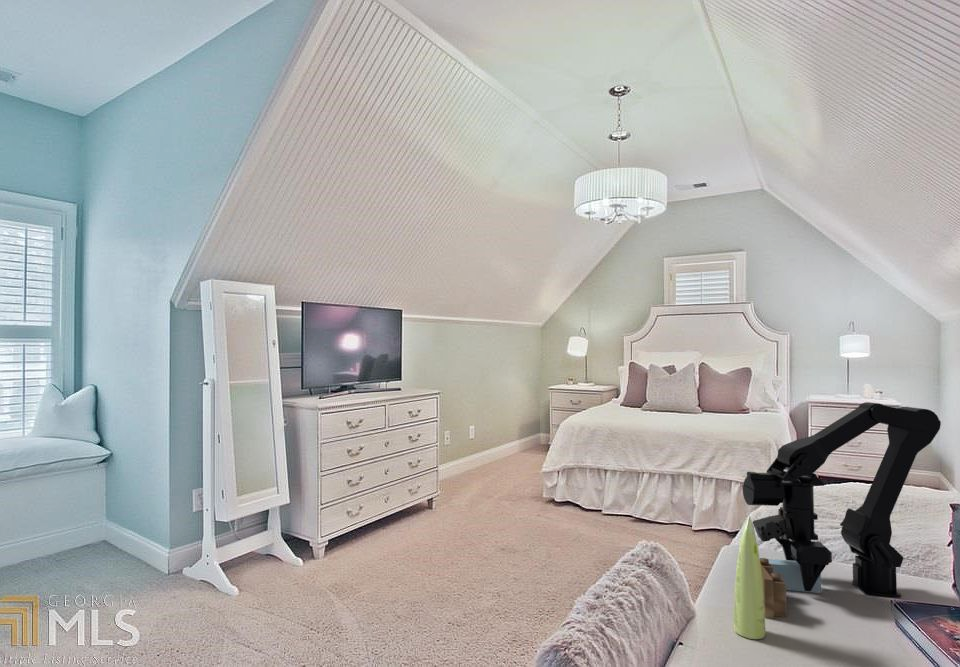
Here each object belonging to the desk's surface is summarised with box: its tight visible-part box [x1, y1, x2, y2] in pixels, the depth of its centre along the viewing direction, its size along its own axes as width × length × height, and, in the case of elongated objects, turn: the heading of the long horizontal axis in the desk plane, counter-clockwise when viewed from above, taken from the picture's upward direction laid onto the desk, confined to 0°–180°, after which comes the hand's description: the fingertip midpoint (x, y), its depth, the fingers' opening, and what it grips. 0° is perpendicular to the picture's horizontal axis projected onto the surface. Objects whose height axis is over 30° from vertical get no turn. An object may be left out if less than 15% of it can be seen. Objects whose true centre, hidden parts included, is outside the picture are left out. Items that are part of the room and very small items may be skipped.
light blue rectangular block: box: [767, 558, 822, 594], centre depth 116 cm, size 13×3×5 cm, turn 77°
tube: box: [733, 513, 766, 640], centre depth 96 cm, size 6×5×20 cm
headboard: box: [759, 557, 787, 620], centre depth 108 cm, size 4×14×7 cm, turn 167°
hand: (799, 582), depth 115 cm, fingers open, 9 cm apart
